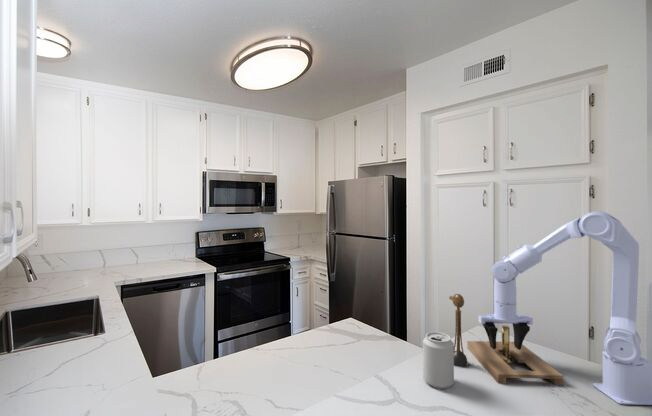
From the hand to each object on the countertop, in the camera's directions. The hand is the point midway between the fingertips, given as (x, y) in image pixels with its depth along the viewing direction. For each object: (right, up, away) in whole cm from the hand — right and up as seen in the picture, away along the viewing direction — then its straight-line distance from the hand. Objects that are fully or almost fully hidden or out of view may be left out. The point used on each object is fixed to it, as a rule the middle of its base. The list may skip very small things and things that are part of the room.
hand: (505, 347), depth 93 cm
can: (-24, -4, -11) cm, 26 cm away
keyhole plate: (0, -4, -3) cm, 4 cm away
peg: (0, -4, 0) cm, 4 cm away
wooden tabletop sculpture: (-14, -4, -1) cm, 15 cm away
